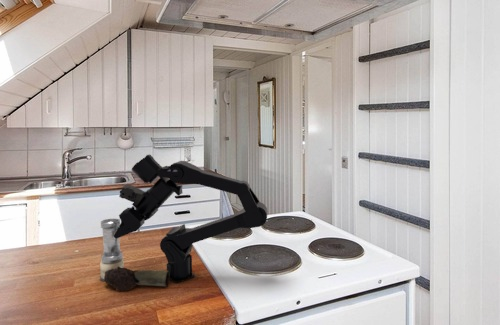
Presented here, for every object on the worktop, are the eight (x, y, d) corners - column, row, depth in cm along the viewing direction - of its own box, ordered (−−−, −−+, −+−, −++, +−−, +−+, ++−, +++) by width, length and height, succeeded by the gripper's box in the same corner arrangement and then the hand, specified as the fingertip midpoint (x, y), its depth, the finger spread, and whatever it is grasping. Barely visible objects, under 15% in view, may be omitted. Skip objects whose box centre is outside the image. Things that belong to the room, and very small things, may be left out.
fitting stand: (120, 270, 106) (119, 254, 106) (128, 277, 101) (127, 260, 101) (97, 276, 102) (96, 260, 101) (104, 284, 97) (104, 267, 96)
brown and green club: (170, 282, 98) (169, 263, 98) (164, 293, 92) (163, 273, 91) (109, 281, 99) (108, 262, 98) (98, 293, 92) (97, 273, 91)
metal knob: (118, 255, 105) (116, 217, 104) (125, 260, 101) (124, 221, 99) (98, 260, 101) (96, 220, 100) (105, 266, 97) (103, 225, 96)
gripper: (146, 171, 107) (113, 205, 109) (125, 180, 89) (85, 222, 90) (172, 195, 108) (139, 229, 109) (156, 210, 90) (116, 251, 91)
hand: (121, 232), depth 100 cm, fingers open, 9 cm apart
